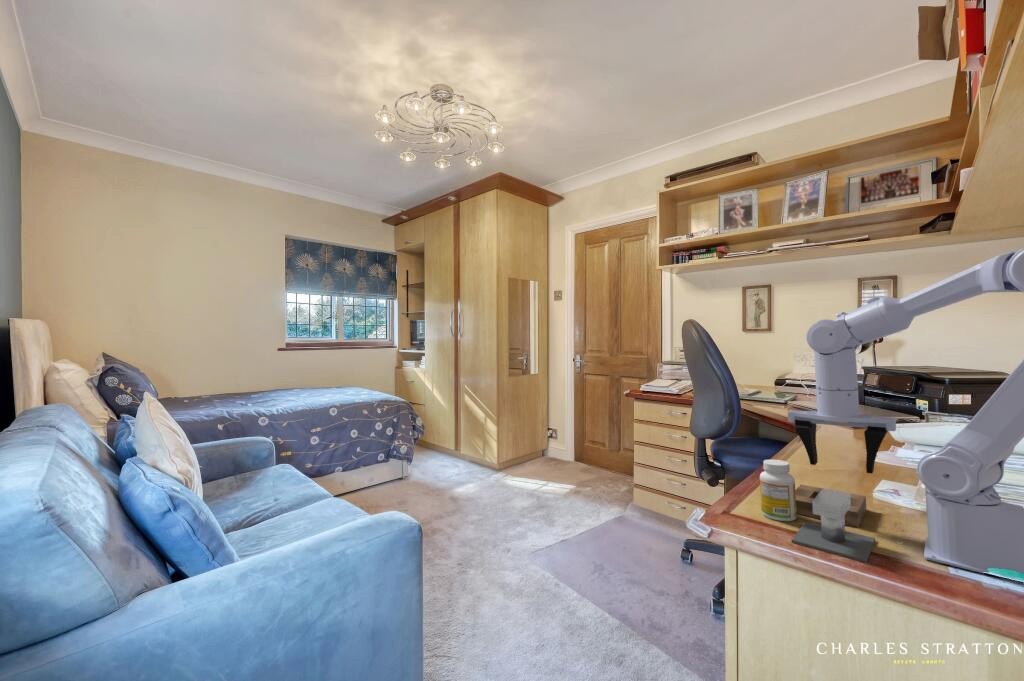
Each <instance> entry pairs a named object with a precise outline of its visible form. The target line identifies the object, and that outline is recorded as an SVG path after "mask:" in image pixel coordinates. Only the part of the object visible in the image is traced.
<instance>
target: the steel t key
mask: <svg viewBox="0 0 1024 681" xmlns="http://www.w3.org/2000/svg"><path fill="white" fill-rule="evenodd" d="M822 488H823V487H822ZM850 493H851V492H844V491H839V490H835V489H834V490H833V489H829V488H825V487H824V488H823V489H822V490H821V491H820V492H819V494H818V495H817V496H816V497H815V498H814V499H813V501H812V505H813V514H816V515H820V518H821V519H820V525H821V537H822V538H823V539H825V540H827V541H830V542H834V543H844V542H845V531H846V525H845V517H844V516H845V514H846V513H847V511H848V509H849V508H850V506H851V502H850Z"/></svg>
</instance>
